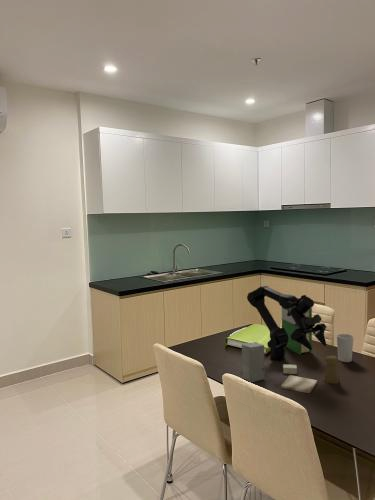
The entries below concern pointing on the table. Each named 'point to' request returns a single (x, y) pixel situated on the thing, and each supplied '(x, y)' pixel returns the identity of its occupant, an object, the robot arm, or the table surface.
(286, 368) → the soap bar
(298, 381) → the board
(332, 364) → the cork
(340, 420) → the table surface
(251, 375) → the skincare box
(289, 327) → the hardback book
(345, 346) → the cup
